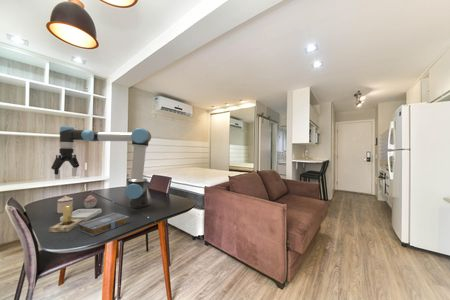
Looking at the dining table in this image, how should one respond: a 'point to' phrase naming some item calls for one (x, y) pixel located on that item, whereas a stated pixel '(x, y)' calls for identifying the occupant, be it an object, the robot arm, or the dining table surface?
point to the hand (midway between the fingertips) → (66, 177)
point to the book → (102, 224)
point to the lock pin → (67, 214)
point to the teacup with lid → (64, 203)
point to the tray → (84, 214)
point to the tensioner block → (65, 226)
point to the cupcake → (90, 202)
